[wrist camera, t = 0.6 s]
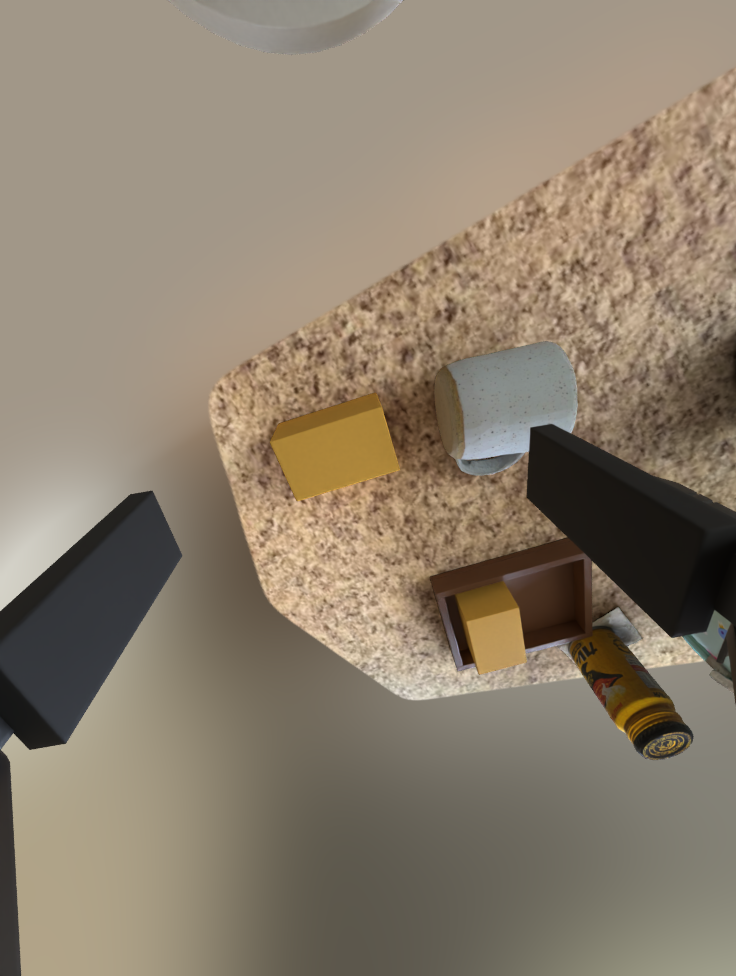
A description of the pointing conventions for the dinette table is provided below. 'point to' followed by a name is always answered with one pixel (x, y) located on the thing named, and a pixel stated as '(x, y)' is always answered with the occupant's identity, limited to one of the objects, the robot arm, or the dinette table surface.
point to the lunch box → (713, 649)
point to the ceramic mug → (503, 403)
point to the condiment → (628, 688)
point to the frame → (526, 596)
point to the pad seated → (492, 627)
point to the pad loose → (335, 447)
